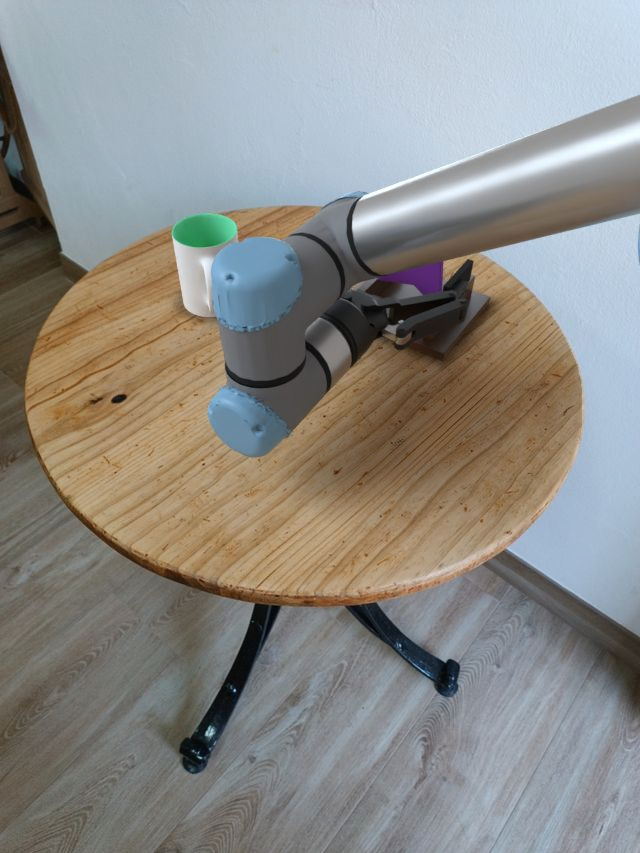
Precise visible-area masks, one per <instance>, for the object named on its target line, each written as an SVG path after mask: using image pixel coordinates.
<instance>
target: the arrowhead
mask: <svg viewBox="0 0 640 853" xmlns="http://www.w3.org/2000/svg"><path fill="white" fill-rule="evenodd" d="M378 280H381V281H388V282H395V283H402V284H409V285H414V286H415V287H416V288H417V289H418V290H419V291H420V293H421V294H422V295H426V294H432V293H437V292H442V284H443V280H444V261H442V262H438V263H434V264H430V265H426V266H422V267H418V268H414V269H409V270H405V271H401V272H397V273H393V274H390V275H387V276H383V277H379V278H378Z"/></svg>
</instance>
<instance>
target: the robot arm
mask: <svg viewBox="0 0 640 853" xmlns="http://www.w3.org/2000/svg"><path fill="white" fill-rule="evenodd" d="M637 215H640V94H637V95H635V96H632V97H629V98H626V99H624V100H621V101H619V102H616V103H613V104H611V105H607V106H605V107H602V108H599V109H596V110H594V111H590V112H588V113H586V114H583V115H580V116H577V117H575V118H572V119H569V120H566V121H563V122H561V123H558V124H556V125H553V126H550V127H547V128H545V129H542V130H539V131H536V132H534V133H531V134H529V135H525V136H522V137H520V138H517V139H514V140H512V141H509V142H506V143H504V144H501V145H498V146H495V147H492V148H490V149H487V150H484V151H482V152H479V153H476V154H474V155H470V156H468V157H465V158H462V159H460V160H457V161H455V162H452V163H448V164H446V165H444V166H441V167H438V168H435V169H433V170H429V171H427V172H425V173H424V172H423V173H422V174H419V175H416V176H413V177H411V178H408V179H405V180H402V181H399V182H397V183H394V184H392V185H391V184H390V185H389V186H385V187H383V188H381V189H378V190H375V191H373V192H366V191H361V190H352V191H349V192H346V193H344V194H342V195H341V196H339V197H337V198H335V199H333V200H331V201H329V202H327V203H325V204H324V205H323V206H322V208H321V209H320V210H319V211H318V212H317V213H316V214H314V215H313V216H312V217H310V218H309V219H308V220H307V221H305V223H303V224H301V226H300V227H298V228H297V229H295V230H294V231H293V232H291V233H290V234H289V235H288V236H287V237H284V238H283V239H282V240H281V239H279V238H274V237H269V236H250V237H246V238H244V239H243V241H240V242H238V243H236V242H235V243H231V244H229V245H227V246H226V247H224V248H223V249H222V250H220V251H219V252H218V254H217V255H216V256H215V258H214V260H213V263H212V266H211V278H212V293H213V301H212V304H213V309H214V313H215V315H216V317H215V318H216V321H217V326H218V331H219V336H220V337H219V338H220V342H221V348H222V353H223V359H224V371H225V372H224V373H225V376H226V383H225V385H223V386H221V387H220V388H218V390H217V392H216V393H215V395H214V396H213V397H212V398H211V399H210V401H209V403H208V407H207V412H206V413H207V419H208V422H209V425H210V427H211V428H212V429H213V432H214V433H215V435H216V436H217V437H218V438H219V439H220V441H221V442H222V443H224V444H225V446H227V448H229V449H231V450H232V451H234V452H237V453H238V454H241V455H242V456H244V457H247V458H255V459H257V458H262V457H265V456H267V455H269V454H270V453H271V452H272V451H273V450H274V449H275V448H276V447H277V446H278V445H279V444H280V443H282V441H283V440H284V439H288V438H289V437H290V436H291V434H292V433H293V431H294V430H296V428H297V427H298V426H299V425H300V423H301V422H302V421H303V420H304V419H306V417H307V416H308V415H309V414H310V413H311V412H312V411H313V409H314V408H315V407H317V405H318V404H319V403H320V402H321V400H322V399H323V398H325V396H326V394H328V393H329V391H330V390H332V389H333V388H334V386H335V385H336V384H337V383H338V382H340V380H341V379H342V378H343V377H344V376H345V375H346V374H347V372H349V370H350V369H351V368H352V367H354V366H355V365H356V364H357V362H358V361H359V360H360V359H361V358H362V357H364V355H365V354H366V353H367V352H368V351H369V350H370V348H371V346H372V345H373V343H374V342H375V341H377V340H379V339H383V338H385V337H386V338H385V339H387V338H388V339H387V340H389V341H392V342H394V349H395V350H397V351H404V350H405V349H406V348H408V347H407V346H409V345H410V344H411V343H412V342H413V341H416V340H418V339H421V338H423V337H426V336H429V335H431V334H434V333H436V332H439V331H441V330H444V329H447V328H449V327H452V326H454V325H457V324H459V323H462V322H464V321H465V319H466V314H467V309H468V304H469V301H468V300H467V299H463V297H464V296H465V295H466V292H467V287H468V282H469V281H470V278H471V275H472V272H473V267H474V263H475V262H474V261H475V260H472V259H470V258H467V259H466V261H464V262H463V264H461V265H460V267H459V268H458V269H457V270H456V271H455V272H454V273H453V275H452V276H450V278H449V279H448V280H446V281H447V282H446V283H445V285H444V286H443V291H442V292H437V293H432V294H426V295H420V296H415V297H409V298H403V299H397V298H396V297H388V298H381V297H378V296H375V295H370V294H368V293H366V292H364V291H362V290H360V289H357V290H354V289H352V288H353V287H354V286H356V285H357V284H358V285H359V284H360V283H362V282H363V281H367V280H371V279H375V278H379V277H383V276H387V275H390V274H393V273H397V272H401V271H405V270H409V269H414V268H418V267H422V266H426V265H430V264H434V263H438V262H442V261H443V262H445V261H451V260H455V259H458V258H463V257H467V256H472V255H475V254H481V253H483V252H487V251H491V250H497V249H501V248H504V247H508V246H512V245H516V244H521V243H525V242H529V241H532V240H537V239H542V238H546V237H550V236H553V235H557V234H562V233H566V232H571V231H574V230H578V229H582V228H586V227H590V226H594V225H598V224H603V223H607V222H612V221H615V220H619V219H624V218H628V217H631V216H637ZM638 226H639V227H638V236H637V256H638V265H640V225H638ZM386 308H390V310H389V317H388V318H387V312H386ZM384 336H385V337H384Z"/></svg>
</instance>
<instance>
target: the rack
mask: <svg viewBox="0 0 640 853" xmlns="http://www.w3.org/2000/svg"><path fill="white" fill-rule="evenodd" d="M475 280H476V275H474V274H471V278H470V281H469V282H468V287H467V292H466V295H465V296H464V297H463V299H467V300H468V301H469V304H468V309H467V314H466V319H465V321H464V322H462V323H459V324H457V325H454V326H452V327H449V328H447V329H444V330H441V331H439V332H436V333H434V334H431V335H429V336H426V337H423V338H421V339H418V340H416V341H413V342H412V343H411V344H410V345H409V346H407V347H406V348H409V349H412V350H414V351H416V352H419V353H422V354H424V355H427V356H429V357H432V358H433V359H436V360H439V361H441V362H443V361H444V360H445V359H446V357H447V356H448V355H449V354H450V352H451V351H452V350H453V349H454V347H456V345H457V344H458V343H459V342H460V341H461V339H462V338H463V337H464V335H465V334H466V333H467V332H468V330H469V329H471V327H472V325H473V324H474V323H475V322H476V321H477V319H478V318H479V317H480V316H481V314H482V313H484V311H485V309H486V308H487V307H488V306H489V305H490V301H491V296H490V295H487V294H484V293H481V292H478V291H476V290H474V284H475ZM447 281H448V280H445V279H443V284H442V291H443V286H444V285H445V283H446V282H447ZM357 289H360V290H362V291H364V292H366V293H368V294H370V295H375V296H378V297H381V298H388V297H396V298H397V299H403V298H409V297H415V296H420V295H422V294H421V293H420V291H419V290H418V289H417V288H416V287H415V286H414V285H409V284H402V283H395V282H388V281H381V280H378V278H375V279H371V280H367V281H363V282H360V283H358V285H357V286H356V287H355V288H354V289H353V290H357ZM389 310H390V308H386V312H387V318H388V317H389ZM383 338H385V339H387V340H389V339H388V338H386V337H385V336H384V337H383Z"/></svg>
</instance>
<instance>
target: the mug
mask: <svg viewBox="0 0 640 853" xmlns="http://www.w3.org/2000/svg"><path fill="white" fill-rule="evenodd" d="M238 234H239V233H238V226H237V223H236V222H235V221H234V220H233V219H232V218H230V217H229V216H226V215H223V214H219V213H210V212H209V213H208V212H207V213H206V212H205V213H197V214H191V215H189V216H186V217H183V218H181V219H180V220H178V221H177V222H176V223H175V224H174V225H173V227H172V229H171V238H172V244H173V249H174V255H175V261H176V267H177V273H178V279H179V285H180V291H181V296H182V297H181V298H182V302H183V303H182V304H183V306H184V308H185V310H187V312H189V313H191V314H192V315H195V316H197V317H203V318H217V317H216V315H215V313H214V309H213V304H212V301H213V293H212V278H211V266H212V263H213V260H214V258H215V256H216V255H217V254H218V252H219V251H220V250H222V249H223V248H224V247H226V246H227V245H229V244H231V243H235V242H236V243H239V235H238Z"/></svg>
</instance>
